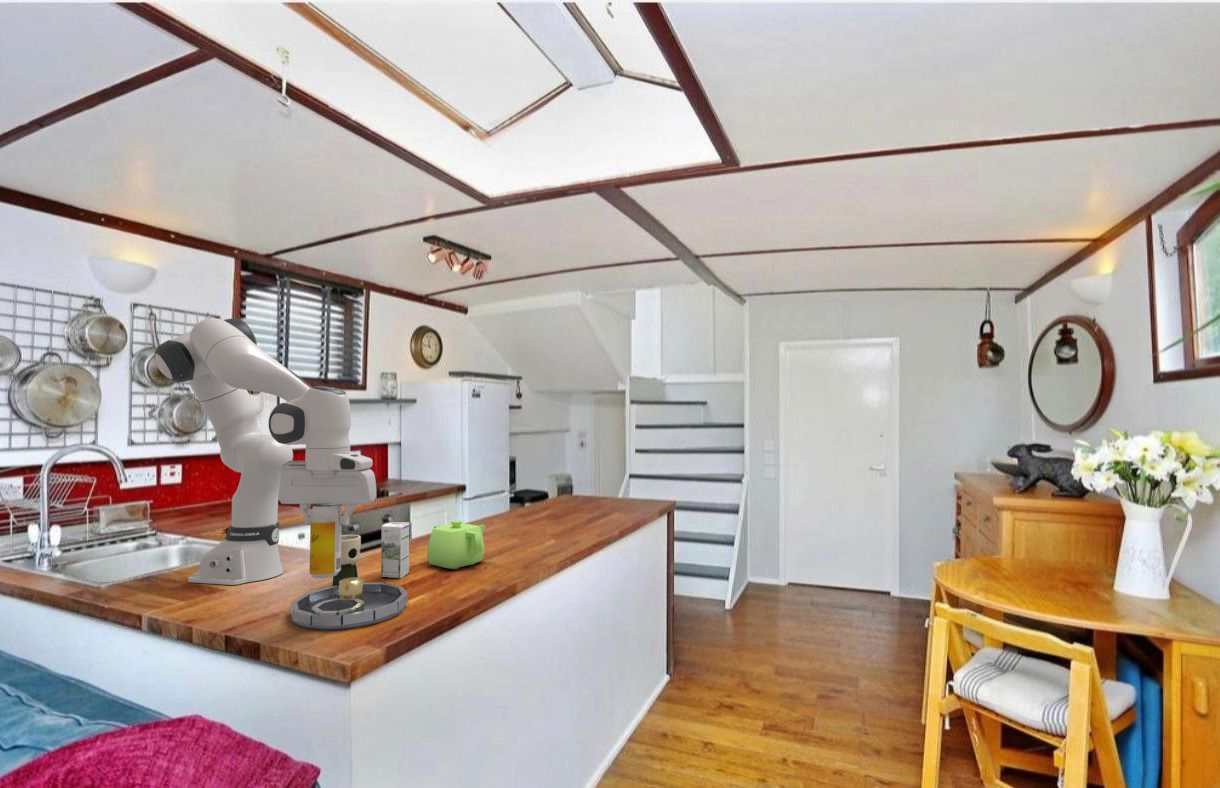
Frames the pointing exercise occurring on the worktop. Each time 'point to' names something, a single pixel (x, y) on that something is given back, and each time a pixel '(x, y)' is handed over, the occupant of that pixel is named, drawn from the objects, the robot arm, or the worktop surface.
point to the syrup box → (395, 550)
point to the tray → (348, 605)
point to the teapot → (456, 545)
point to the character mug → (348, 557)
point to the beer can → (325, 540)
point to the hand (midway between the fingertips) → (327, 524)
